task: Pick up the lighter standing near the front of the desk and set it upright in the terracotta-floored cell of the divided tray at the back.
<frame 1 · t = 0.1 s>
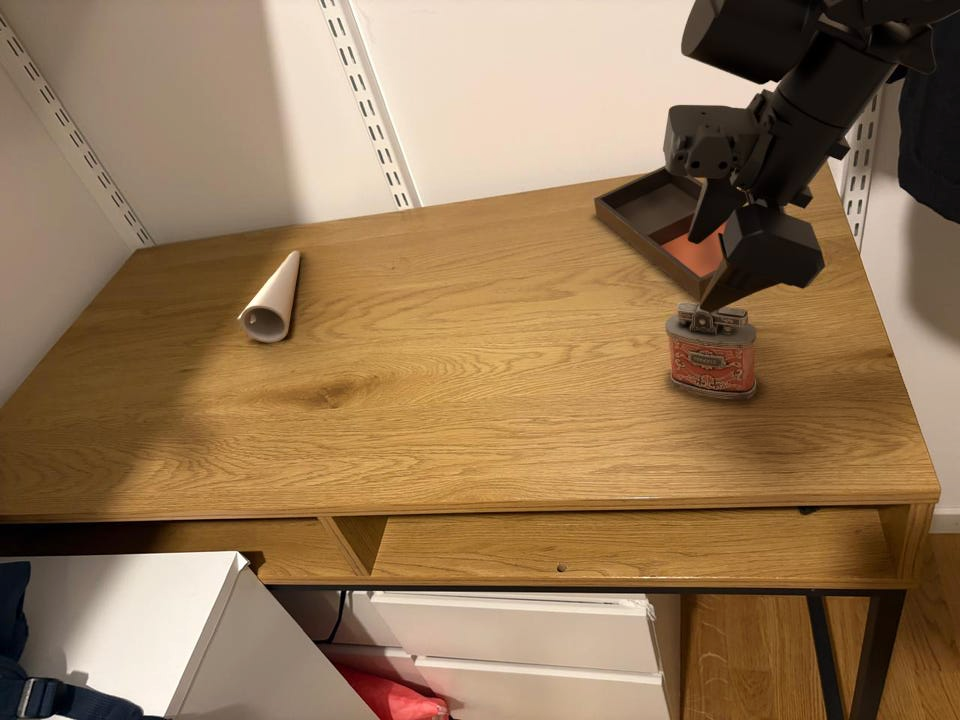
hand: (698, 273, 61), 15 cm above the table, tool tilted 30°, fingers open, 9 cm apart
lighter: (712, 385, 72), on the table
divided tray: (684, 236, 90), on the table
long tapered cone: (293, 296, 102), on the table
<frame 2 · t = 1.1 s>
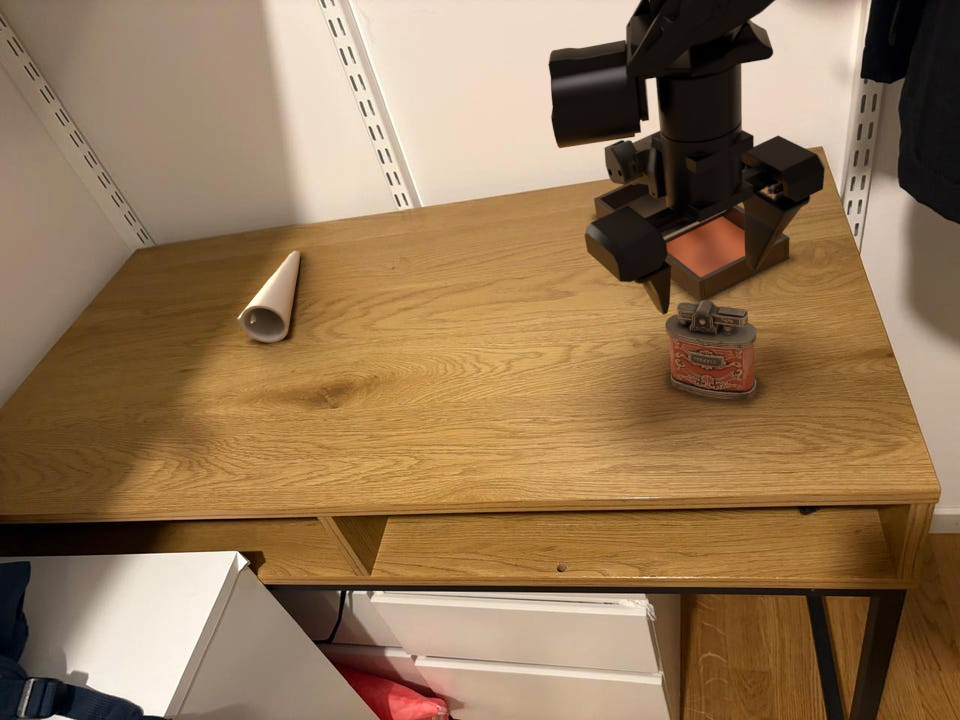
hand: (707, 289, 64), 12 cm above the table, tool pointing down, fingers open, 9 cm apart
nothing on the table moved.
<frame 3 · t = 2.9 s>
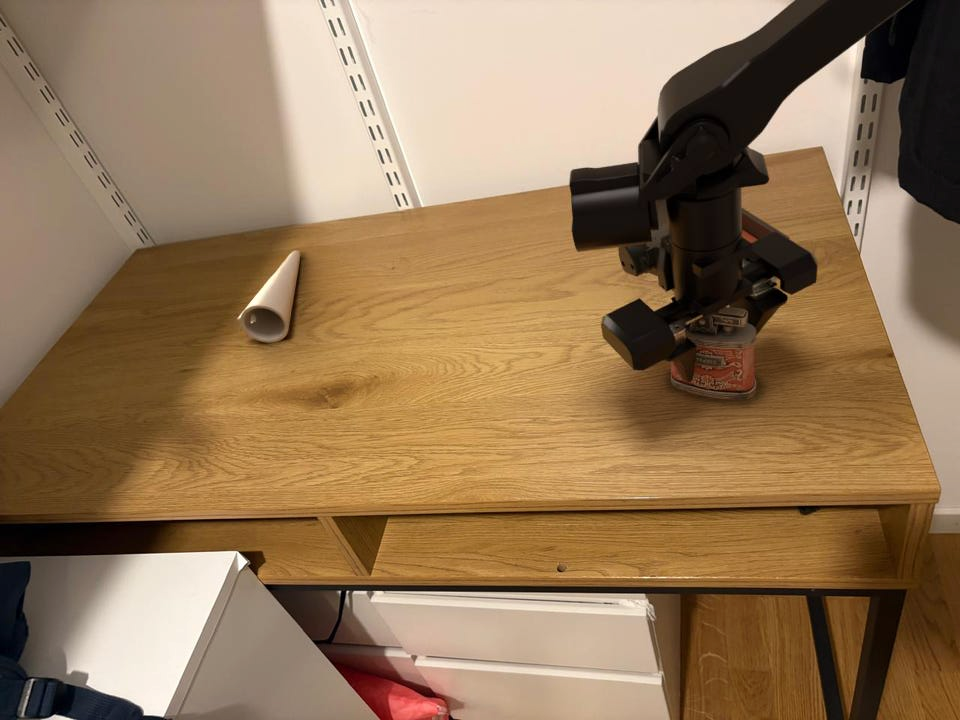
hand: (712, 366, 71), 3 cm above the table, tool pointing down, fingers closed on lighter, 5 cm apart
lighter: (712, 385, 72), on the table, touching gripper
everything else where it was.
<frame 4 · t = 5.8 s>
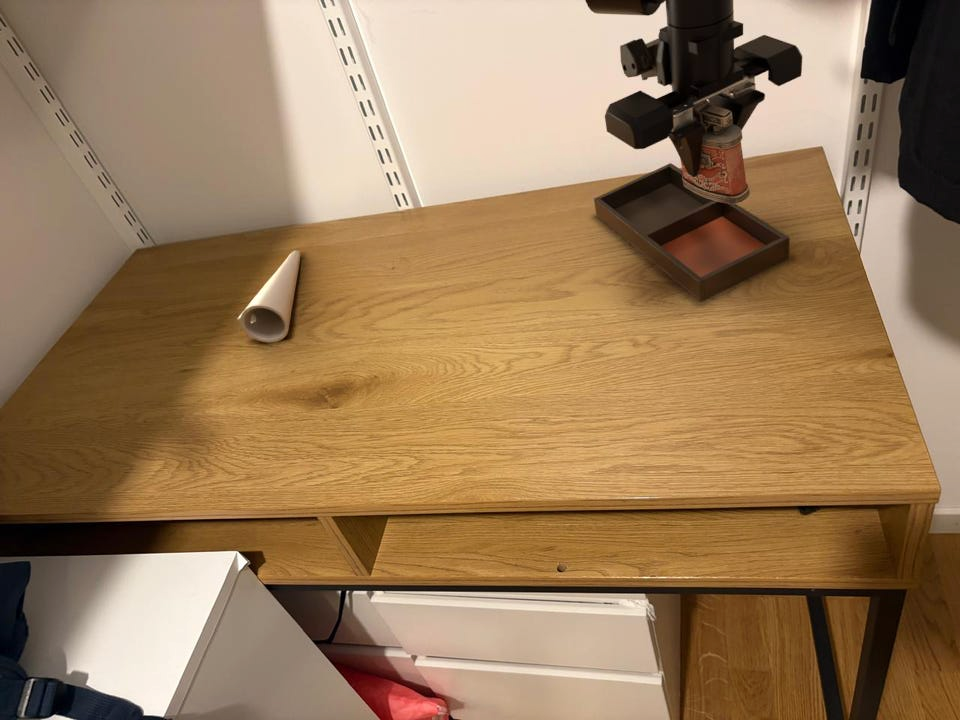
hand: (706, 168, 77), 13 cm above the table, tool pointing down, fingers closed on lighter, 3 cm apart
lighter: (715, 189, 78), point 10 cm above the table, touching gripper
everything else where it was.
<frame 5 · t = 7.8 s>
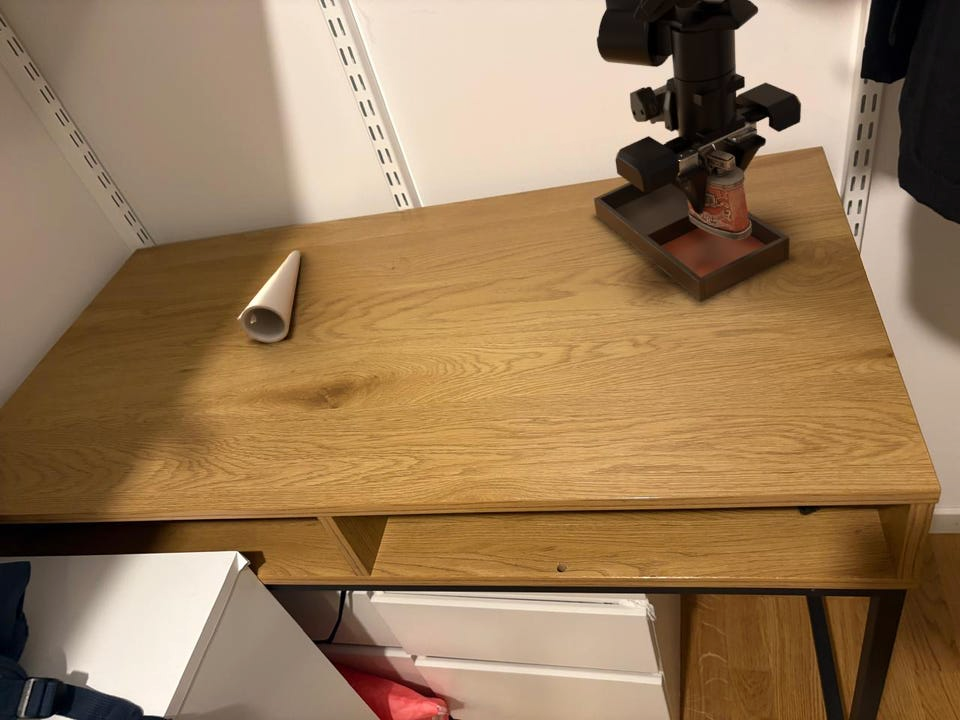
hand: (711, 206, 81), 7 cm above the table, tool pointing down, fingers closed on lighter, 3 cm apart
lighter: (720, 225, 83), point 4 cm above the table, touching gripper
everything else where it was.
when the fingers open (3 cm above the table, at t = 9.1 s): lighter stays where it is, resting on divided tray.
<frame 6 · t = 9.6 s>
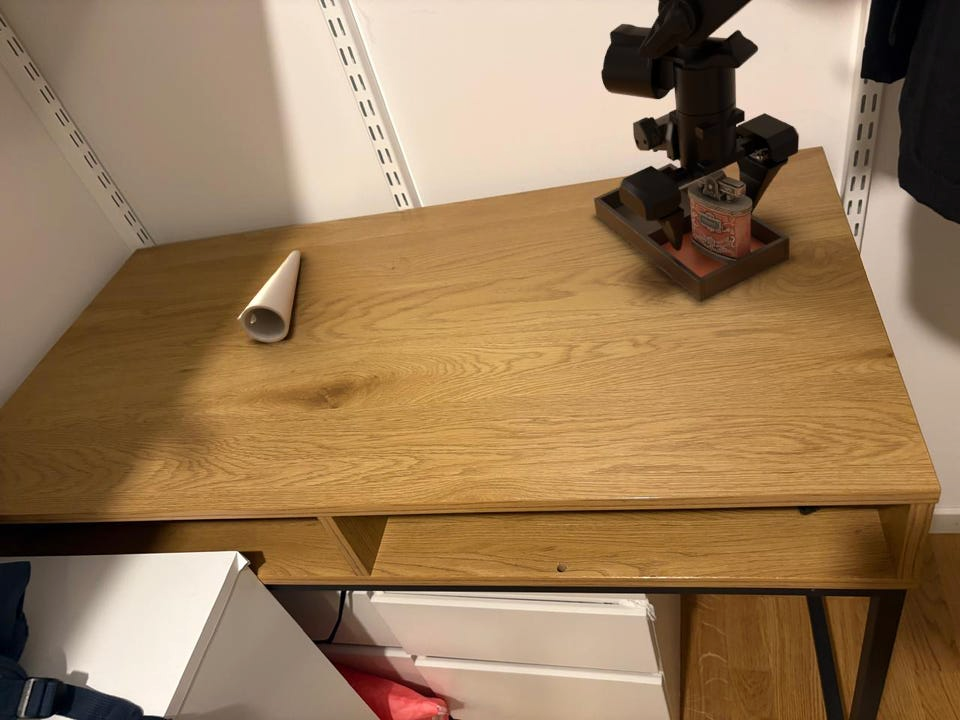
hand: (711, 232, 84), 3 cm above the table, tool pointing down, fingers open, 9 cm apart
lighter: (721, 251, 86), resting on divided tray
everything else where it was.
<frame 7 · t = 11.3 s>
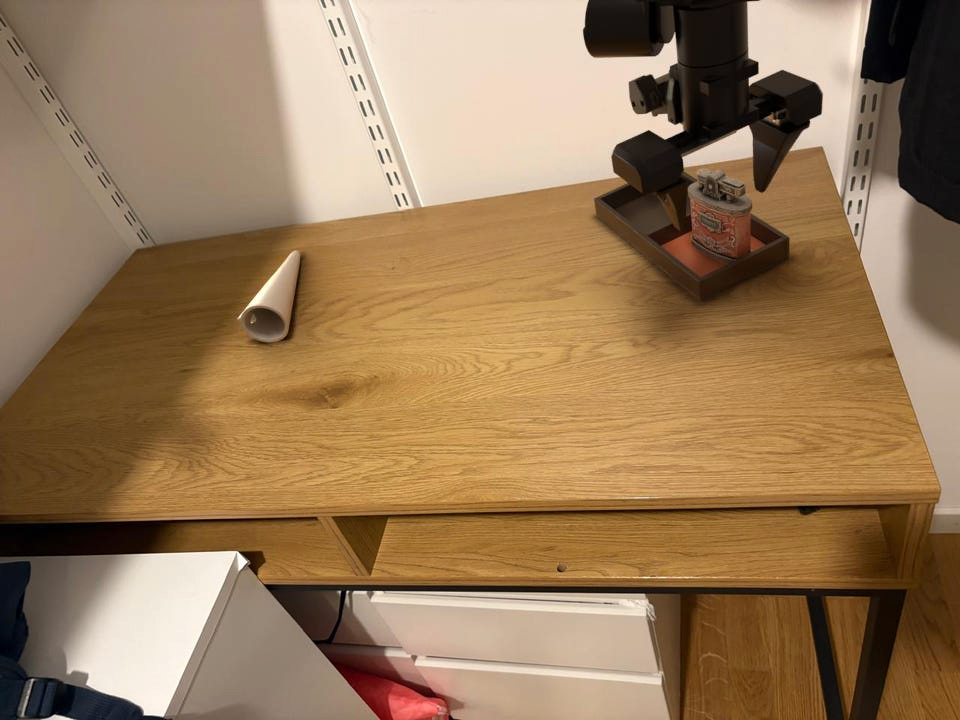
hand: (720, 209, 73), 12 cm above the table, tool pointing down, fingers open, 9 cm apart
nothing on the table moved.
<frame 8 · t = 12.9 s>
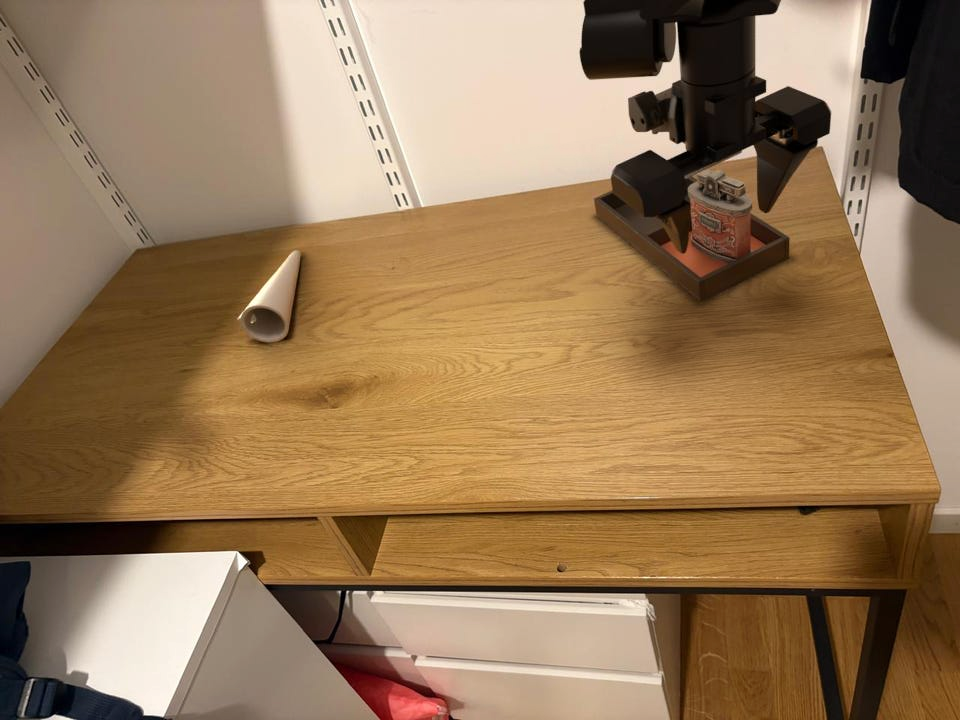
hand: (723, 231, 70), 12 cm above the table, tool pointing down, fingers open, 9 cm apart
nothing on the table moved.
at the end: lighter 0.9 cm from the target spot in the divided tray, point 0.4 cm above the divided tray's base; lighter tilted 0° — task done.
